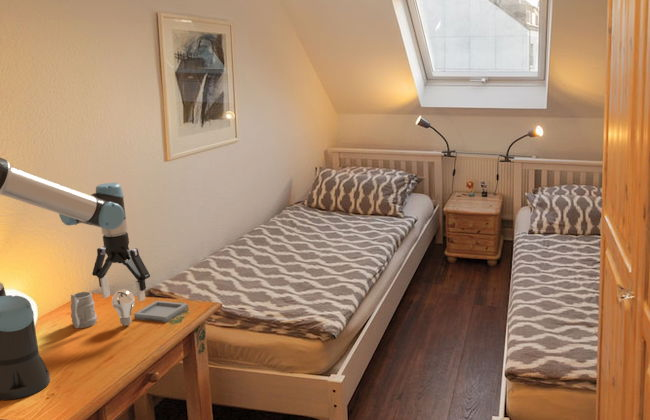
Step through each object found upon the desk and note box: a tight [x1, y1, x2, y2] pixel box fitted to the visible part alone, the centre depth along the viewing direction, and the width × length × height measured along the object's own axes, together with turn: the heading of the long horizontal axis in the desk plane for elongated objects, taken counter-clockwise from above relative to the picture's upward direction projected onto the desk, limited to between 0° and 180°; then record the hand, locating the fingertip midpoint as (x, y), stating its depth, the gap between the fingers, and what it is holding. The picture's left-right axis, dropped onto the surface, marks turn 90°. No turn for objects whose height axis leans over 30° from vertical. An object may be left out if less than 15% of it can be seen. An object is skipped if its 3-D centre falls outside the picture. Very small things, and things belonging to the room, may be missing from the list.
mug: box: [70, 291, 98, 329], centre depth 221 cm, size 8×12×12 cm, turn 177°
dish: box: [133, 300, 189, 323], centre depth 229 cm, size 12×12×2 cm
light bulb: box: [111, 289, 136, 327], centre depth 219 cm, size 7×7×12 cm
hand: (124, 298), depth 219 cm, fingers open, 13 cm apart
